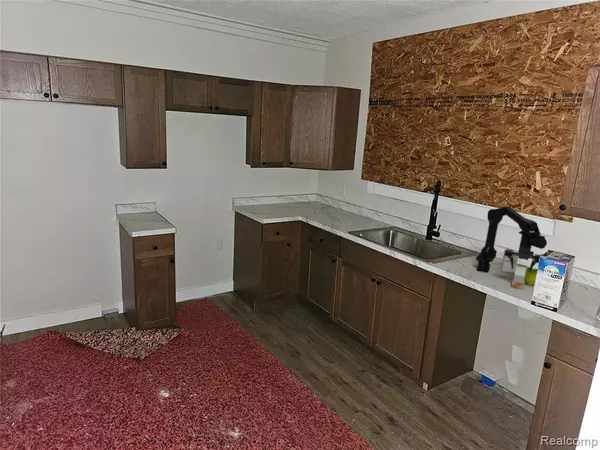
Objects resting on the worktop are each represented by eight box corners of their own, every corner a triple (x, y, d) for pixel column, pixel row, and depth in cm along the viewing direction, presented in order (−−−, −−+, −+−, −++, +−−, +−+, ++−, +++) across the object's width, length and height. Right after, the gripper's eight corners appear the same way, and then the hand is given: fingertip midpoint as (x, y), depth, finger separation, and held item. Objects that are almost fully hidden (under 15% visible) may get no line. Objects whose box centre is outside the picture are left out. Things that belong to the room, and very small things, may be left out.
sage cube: (514, 274, 228) (516, 265, 227) (515, 272, 232) (516, 263, 231) (524, 276, 225) (526, 267, 224) (524, 273, 230) (526, 265, 229)
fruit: (519, 280, 242) (523, 264, 240) (537, 283, 239) (541, 267, 236) (520, 285, 234) (523, 268, 232) (539, 288, 230) (542, 271, 228)
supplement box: (502, 271, 256) (505, 252, 253) (500, 268, 263) (504, 249, 260) (515, 273, 254) (518, 254, 251) (513, 270, 260) (517, 251, 257)
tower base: (511, 288, 229) (512, 281, 228) (511, 284, 234) (513, 278, 233) (523, 290, 226) (524, 283, 225) (523, 287, 232) (524, 280, 231)
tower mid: (513, 281, 229) (514, 274, 228) (513, 278, 233) (515, 272, 232) (523, 283, 226) (524, 276, 225) (523, 280, 230) (525, 274, 229)
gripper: (506, 243, 222) (501, 270, 226) (545, 250, 213) (539, 278, 217) (507, 239, 231) (502, 265, 235) (545, 245, 223) (539, 272, 227)
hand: (520, 270), depth 228 cm, fingers open, 8 cm apart
